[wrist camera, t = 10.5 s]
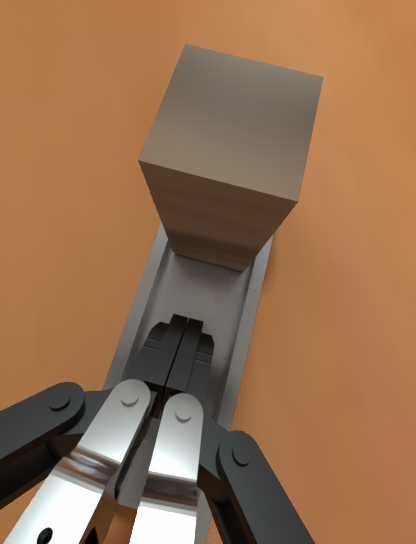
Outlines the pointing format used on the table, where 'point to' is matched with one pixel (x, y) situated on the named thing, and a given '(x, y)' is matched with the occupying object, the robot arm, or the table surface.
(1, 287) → the table surface
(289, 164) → the slider block
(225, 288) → the track
